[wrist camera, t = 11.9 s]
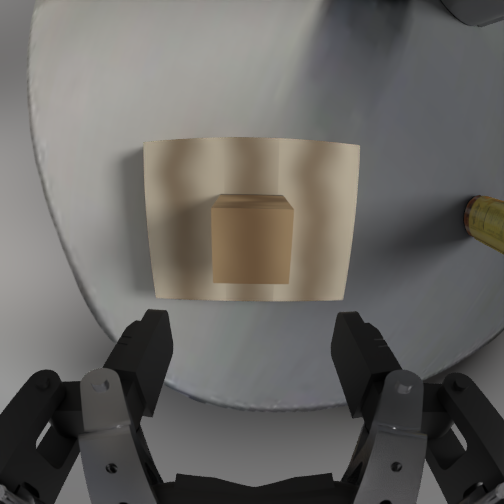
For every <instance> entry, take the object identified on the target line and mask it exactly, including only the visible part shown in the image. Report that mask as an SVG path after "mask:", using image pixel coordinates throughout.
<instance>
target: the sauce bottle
mask: <svg viewBox="0 0 504 504" xmlns="http://www.w3.org/2000/svg"><path fill="white" fill-rule="evenodd" d="M464 224H465V228H466V230H467V232H468V234H469V235H470V236H472V237H474V238H475V239H476V240H478V241H480V242H482V243H484V244H485V245H487V246H489V247H491V248H493V249H495V250H497V251H498V252H500V253H502V254H504V201H501V200H498V199H495V198H491V197H488V196H481V195H478V196H475V197H474V198H473V199H471V200H470V201H469V203H468V205H467V207H466V209H465V213H464Z"/></svg>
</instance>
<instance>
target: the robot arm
mask: <svg viewBox="0 0 504 504" xmlns="http://www.w3.org/2000/svg"><path fill="white" fill-rule="evenodd" d="M441 1H442V2H443V4H444V5H445V6H446V7H447V9H448V10H449V11H450V12H451V13H452V14H453V15H454V16H455V17H457V18H458V19H459V20H460V21H462V22H463V23H465V24H467V25H470V26H476V25H478V26H480V27H484V26H486V25H489V24H492V23H496V22H499V21H502V20H504V0H441ZM172 354H173V339H172V334H171V328H170V322H169V316H168V312H167V311H166V310H153V309H148V310H147V311H146V313H145V315H144V316H143V318H142V320H141V321H137V320H136V321H134V322H133V323H132V324H130V325H129V326H128V327H126V329H125V331H124V332H123V334H122V335H121V337H120V339H119V340H118V342H117V344H116V345H115V347H114V349H113V350H112V352H111V354H110V356H109V357H108V359H107V361H106V362H105V364H104V366H103V368H98V369H94V370H91V371H90V372H88V373H87V374H85V375H84V377H83V378H82V380H81V381H72V382H62V381H61V380H60V378H59V376H58V374H57V373H56V372H54V371H52V370H41V371H38V372H36V373H34V374H33V375H32V376H31V377H30V378H29V379H28V381H27V382H26V383H25V384H24V385H23V387H22V388H21V389H20V390H19V392H18V393H17V394H16V395H15V397H14V398H13V399H12V400H11V401H10V403H9V404H8V405H7V407H6V408H5V409H4V410H3V412H2V413H1V414H0V504H54V503H55V501H56V499H57V496H58V494H59V493H60V490H61V488H62V486H63V484H64V482H65V480H66V478H67V476H68V474H69V472H70V470H71V468H72V466H73V464H74V462H75V460H76V459H77V457H78V455H79V453H80V452H81V458H82V464H83V469H84V474H85V479H86V484H87V488H88V492H89V496H90V500H91V503H92V504H416V501H417V497H418V493H419V488H420V483H421V478H422V472H423V466H424V461H425V459H426V461H427V463H428V465H429V467H430V469H431V471H432V473H433V474H434V476H435V478H436V481H437V482H438V484H439V486H440V488H441V490H442V493H443V494H444V497H445V498H446V501H447V503H448V504H504V420H503V418H502V417H501V416H500V414H499V413H498V412H497V410H496V409H495V408H494V407H493V405H492V404H491V403H490V402H489V400H488V399H487V398H486V397H485V395H484V394H483V393H482V391H480V389H479V388H478V387H477V386H476V384H475V383H474V382H473V381H472V380H471V378H469V377H468V376H466V375H464V374H462V373H451V374H448V375H447V376H446V377H445V379H444V381H443V382H442V384H429V383H423V382H422V380H421V379H420V377H419V376H418V375H416V374H415V373H413V372H411V371H408V370H402V368H401V366H400V364H399V363H398V361H397V359H396V358H395V356H394V354H393V353H392V351H391V350H390V348H389V347H388V345H387V343H386V341H385V340H383V337H382V335H381V333H380V332H379V330H378V329H377V328H375V327H374V326H373V325H371V324H370V323H364V321H363V320H362V318H361V316H360V315H359V313H358V312H356V311H355V312H339V313H338V315H337V318H336V323H335V328H334V332H333V337H332V342H331V356H332V360H333V362H334V365H335V368H336V371H337V374H338V377H339V380H340V383H341V386H342V389H343V392H344V395H345V398H346V401H347V404H348V406H349V409H350V412H351V416H352V418H359V417H363V419H364V424H363V426H362V428H361V432H360V435H359V438H358V441H357V444H356V446H355V450H354V452H353V455H352V458H351V461H350V463H349V465H348V468H347V470H346V472H345V473H344V475H343V477H342V479H341V481H340V482H339V481H333V477H332V473H327V474H320V475H312V476H302V477H294V478H290V479H287V480H283V481H279V482H276V483H272V484H268V485H263V486H259V487H250V486H245V485H241V484H237V483H233V482H229V481H225V480H221V479H218V478H212V477H201V476H192V475H184V474H176V480H175V482H167V483H164V482H163V480H162V478H161V476H160V474H159V472H158V470H157V468H156V466H155V464H154V461H153V458H152V456H151V453H150V451H149V448H148V445H147V442H146V439H145V437H144V434H143V431H142V428H141V425H140V421H141V418H142V416H147V417H153V414H154V410H155V407H156V404H157V401H158V397H159V394H160V391H161V388H162V385H163V382H164V379H165V376H166V373H167V370H168V367H169V364H170V361H171V358H172ZM48 421H49V423H50V424H51V427H50V428H49V430H48V431H47V433H46V434H45V436H44V437H43V439H42V441H41V442H40V444H39V446H38V447H37V449H36V441H37V439H38V437H39V435H40V434H41V432H42V431H43V429H44V427H45V426H46V424H47V423H48ZM454 423H455V424H456V426H457V427H458V429H459V430H460V432H461V433H462V435H463V437H464V438H465V440H466V442H467V450H466V451H465V450H464V448H463V446H462V445H461V443H460V442H459V440H458V439H457V437H456V435H455V434H454V432H453V431H452V429H451V427H452V425H453V424H454Z"/></svg>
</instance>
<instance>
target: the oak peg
mask: <svg viewBox="0 0 504 504" xmlns="http://www.w3.org/2000/svg"><path fill="white" fill-rule="evenodd" d="M293 220H294V209H293V208H292V206H291V205H290V204H289V202H288V201H287V200H286V198H285V197H284V196H283V195H258V194H220V196H219V197H218V199H217V200H216V202H215V203H214V204H213V206H212V207H211V234H212V268H213V283H229V284H289V276H290V263H291V250H292V235H293Z"/></svg>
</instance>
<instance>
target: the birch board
mask: <svg viewBox="0 0 504 504" xmlns="http://www.w3.org/2000/svg"><path fill="white" fill-rule="evenodd" d="M143 148H144V184H145V202H146V216H147V228H148V239H149V248H150V257H151V265H152V273H153V280H154V287H155V294H156V298H167V299H189V300H220V301H326V300H343V297H344V291H345V285H346V279H347V273H348V267H349V260H350V253H351V246H352V238H353V230H354V221H355V211H356V201H357V189H358V175H359V157H360V145H352V144H344V143H335V142H325V141H313V140H300V139H282V138H248V137H227V138H193V139H176V140H163V141H151V142H143ZM220 194H258V195H283V196H284V197H285V198H286V200H287V201H288V202H289V204H290V205H291V206H292V208H293V209H294V220H293V235H292V250H291V263H290V276H289V284H229V283H213V268H212V234H211V207H212V206H213V204H214V203H215V202H216V200H217V199H218V197H219V196H220Z"/></svg>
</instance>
